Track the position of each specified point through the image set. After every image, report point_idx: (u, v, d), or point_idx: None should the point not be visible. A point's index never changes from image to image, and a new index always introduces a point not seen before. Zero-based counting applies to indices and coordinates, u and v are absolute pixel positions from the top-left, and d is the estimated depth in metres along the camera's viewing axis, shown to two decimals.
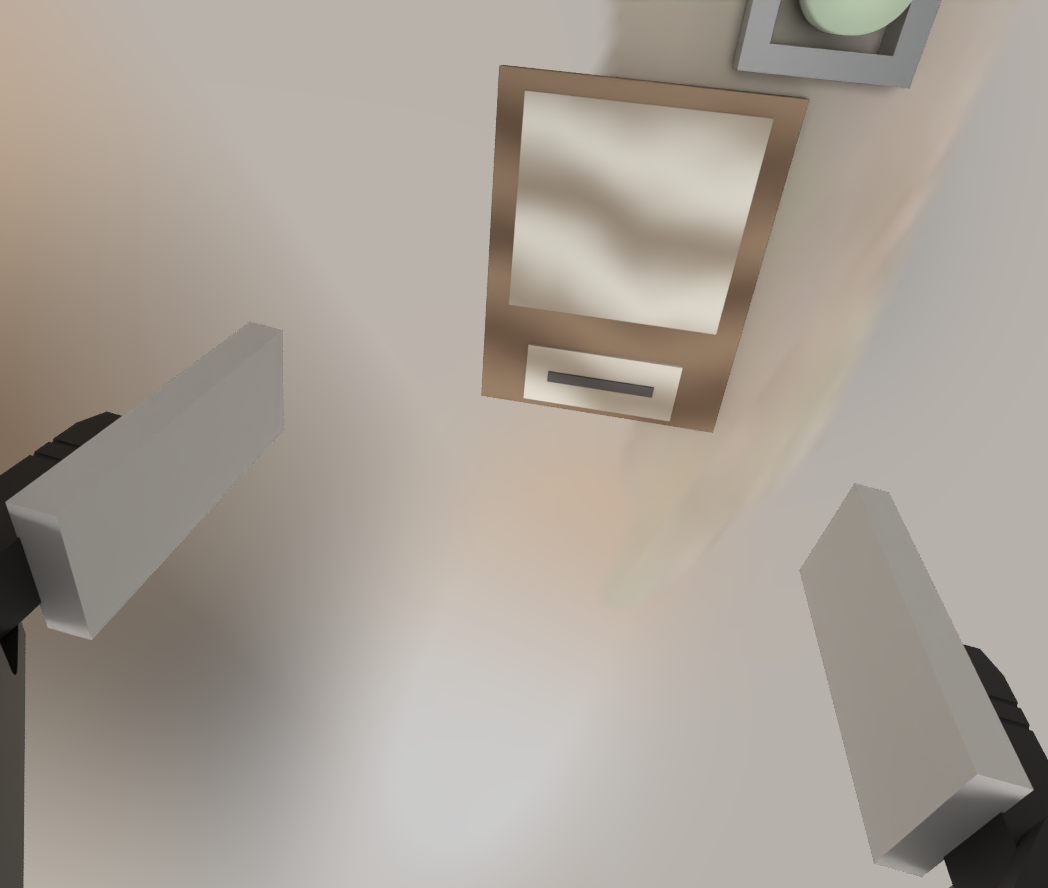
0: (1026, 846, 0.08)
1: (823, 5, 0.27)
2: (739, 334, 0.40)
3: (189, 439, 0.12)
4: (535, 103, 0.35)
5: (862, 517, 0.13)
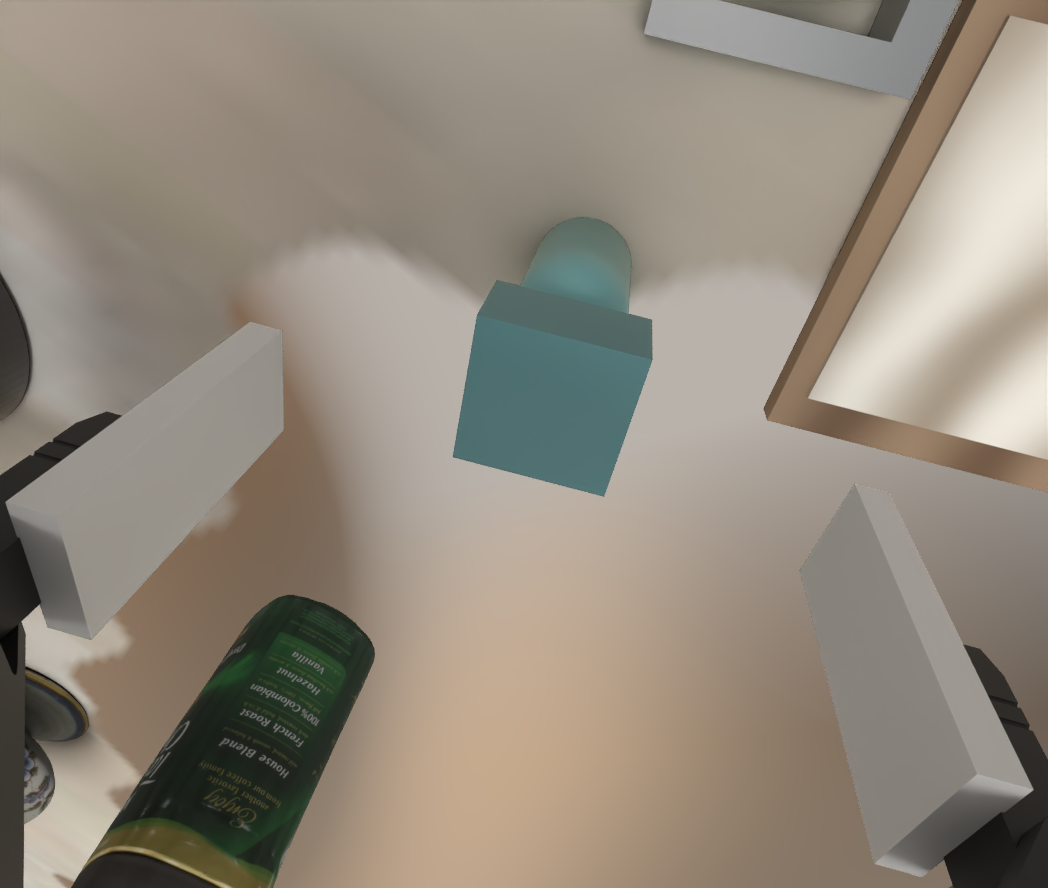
0: (1026, 846, 0.08)
1: None
2: None
3: (189, 439, 0.12)
4: (828, 388, 0.26)
5: (862, 517, 0.13)
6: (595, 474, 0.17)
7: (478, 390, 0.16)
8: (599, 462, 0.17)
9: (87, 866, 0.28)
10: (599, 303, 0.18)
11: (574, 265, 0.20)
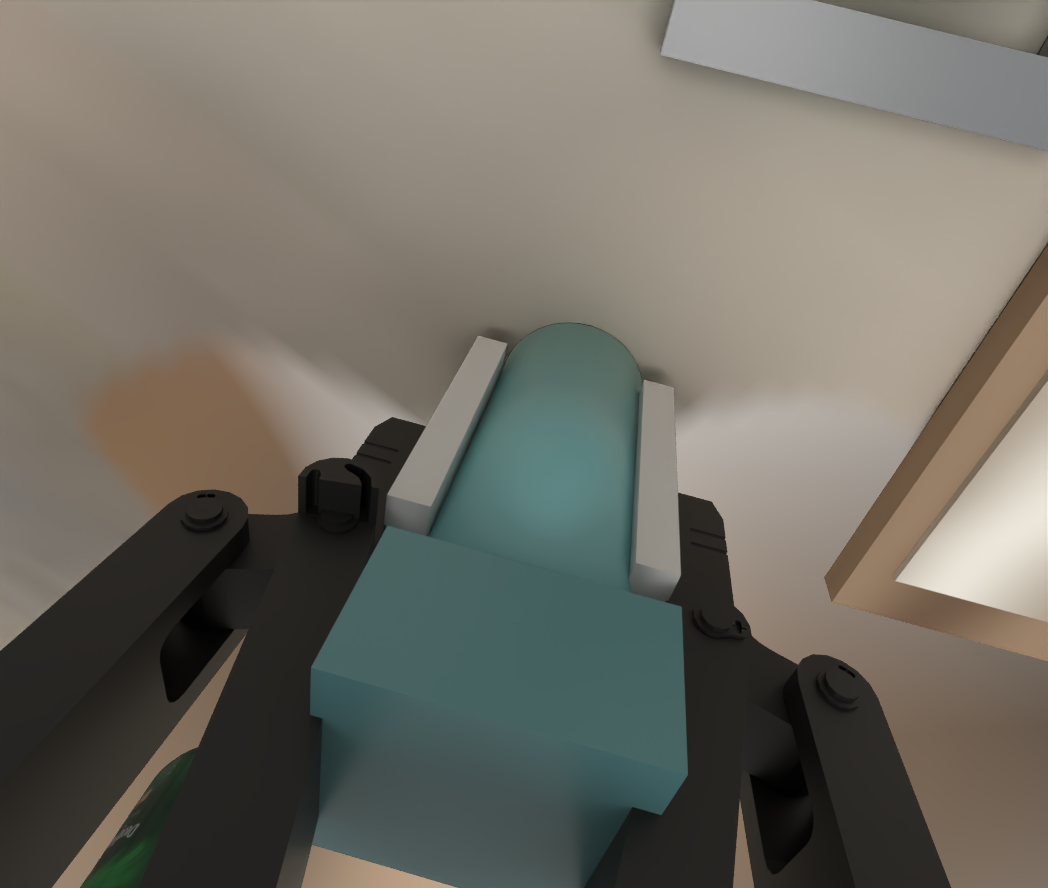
0: None
1: None
2: None
3: (468, 441, 0.13)
4: (927, 570, 0.17)
5: (641, 404, 0.15)
6: None
7: (335, 770, 0.08)
8: (578, 887, 0.09)
9: None
10: (584, 545, 0.10)
11: (545, 444, 0.12)
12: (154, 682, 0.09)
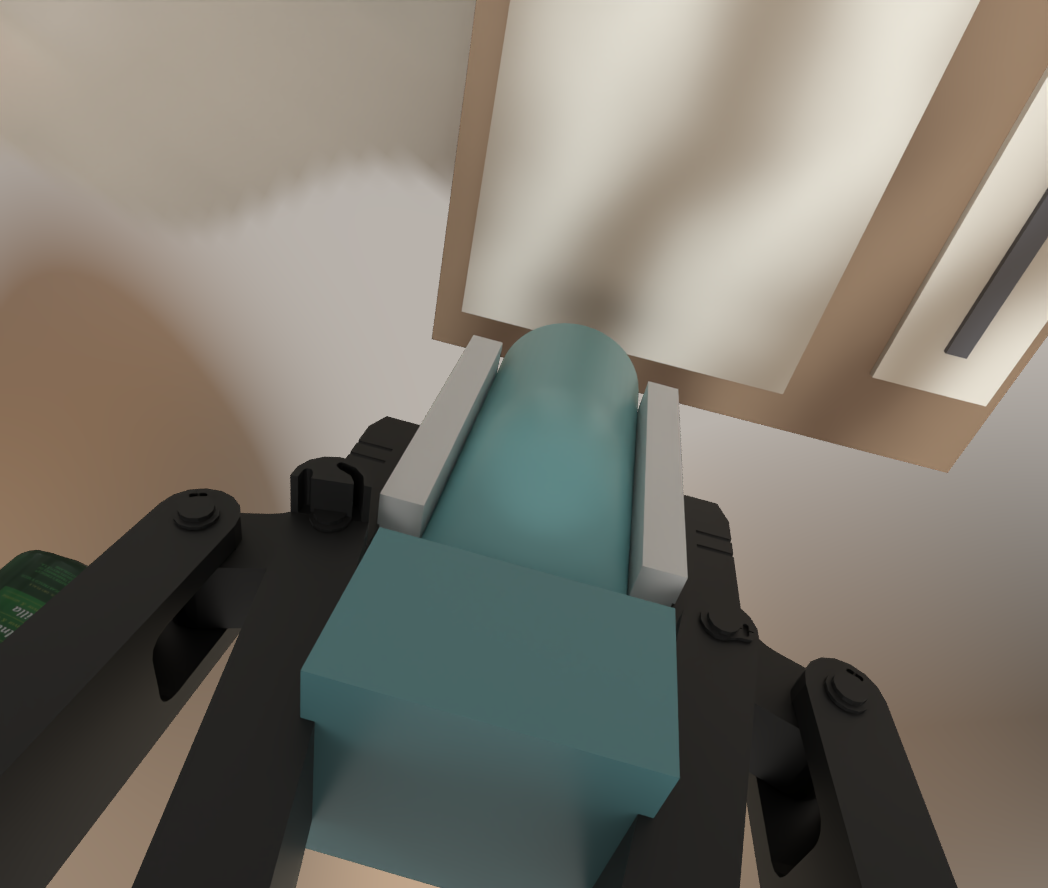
0: None
1: None
2: None
3: (463, 440, 0.13)
4: (478, 299, 0.23)
5: (645, 406, 0.15)
6: None
7: (327, 773, 0.08)
8: None
9: None
10: (578, 546, 0.10)
11: (540, 445, 0.12)
12: (148, 681, 0.09)
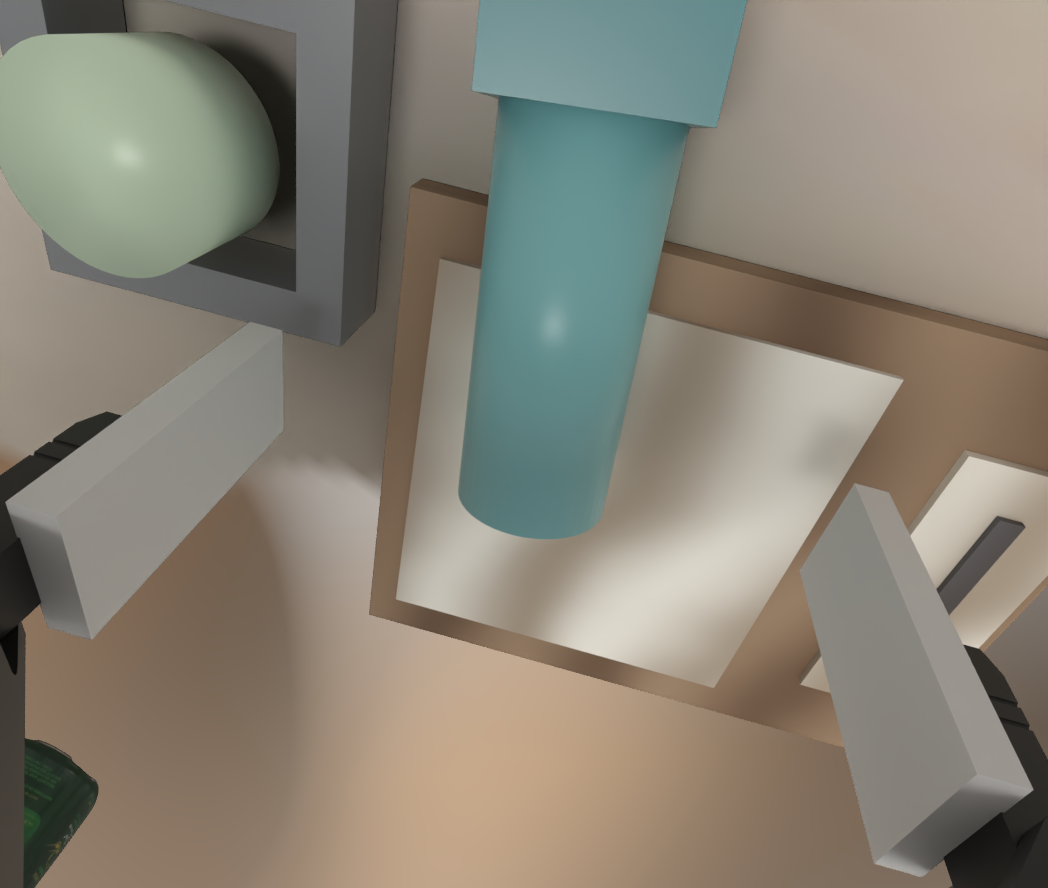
0: (1026, 846, 0.08)
1: (165, 252, 0.13)
2: (925, 324, 0.15)
3: (189, 439, 0.12)
4: (411, 591, 0.23)
5: (861, 517, 0.13)
6: None
7: None
8: None
9: None
10: None
11: None
12: None
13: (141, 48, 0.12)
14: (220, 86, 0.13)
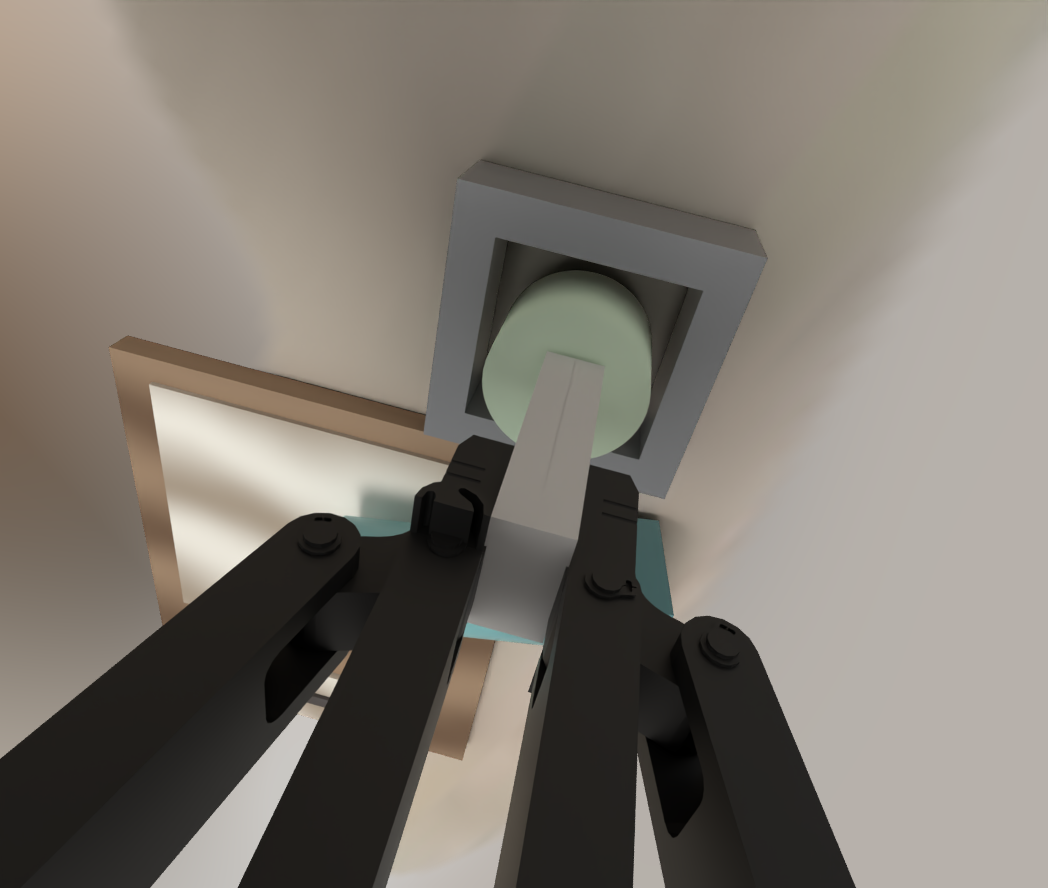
0: (562, 602, 0.10)
1: (504, 416, 0.18)
2: (482, 679, 0.30)
3: None
4: (167, 401, 0.24)
5: (569, 382, 0.15)
6: None
7: None
8: None
9: None
10: None
11: None
12: (257, 704, 0.09)
13: None
14: None
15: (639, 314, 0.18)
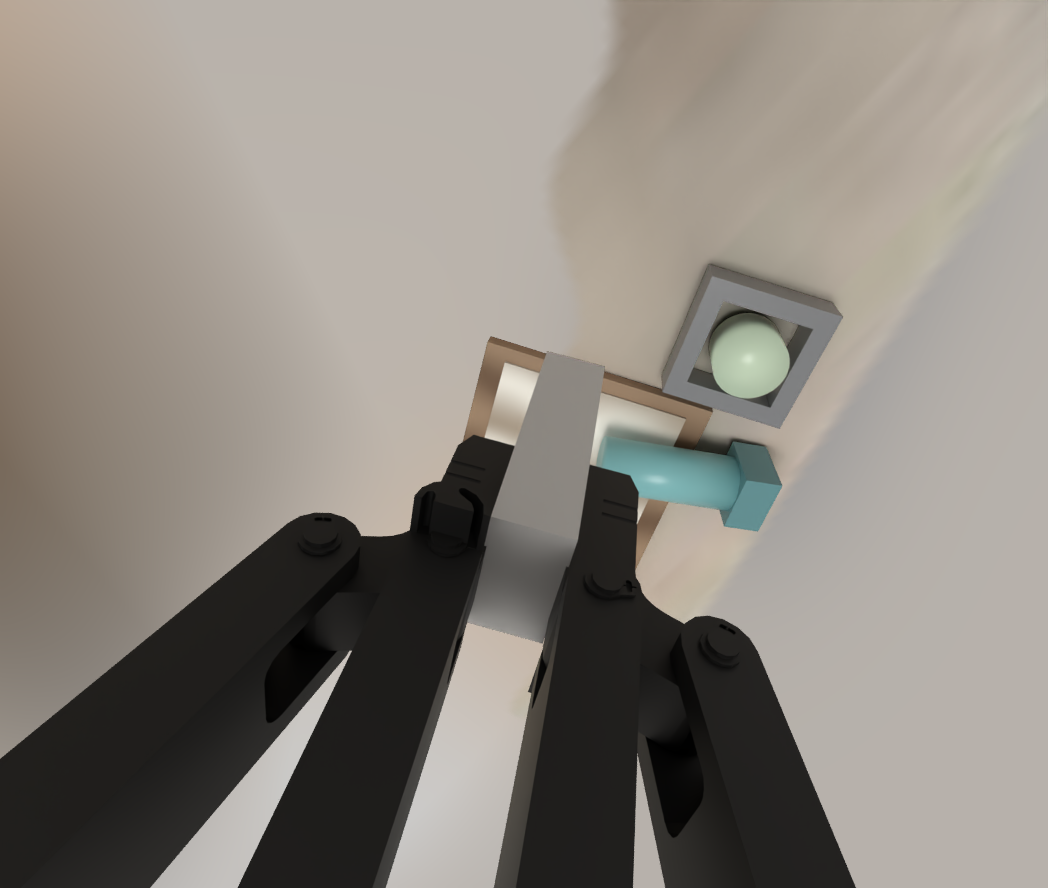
0: (562, 602, 0.10)
1: (719, 376, 0.40)
2: (644, 547, 0.51)
3: None
4: (511, 372, 0.45)
5: (570, 382, 0.15)
6: None
7: None
8: None
9: None
10: None
11: None
12: (257, 703, 0.09)
13: None
14: None
15: None
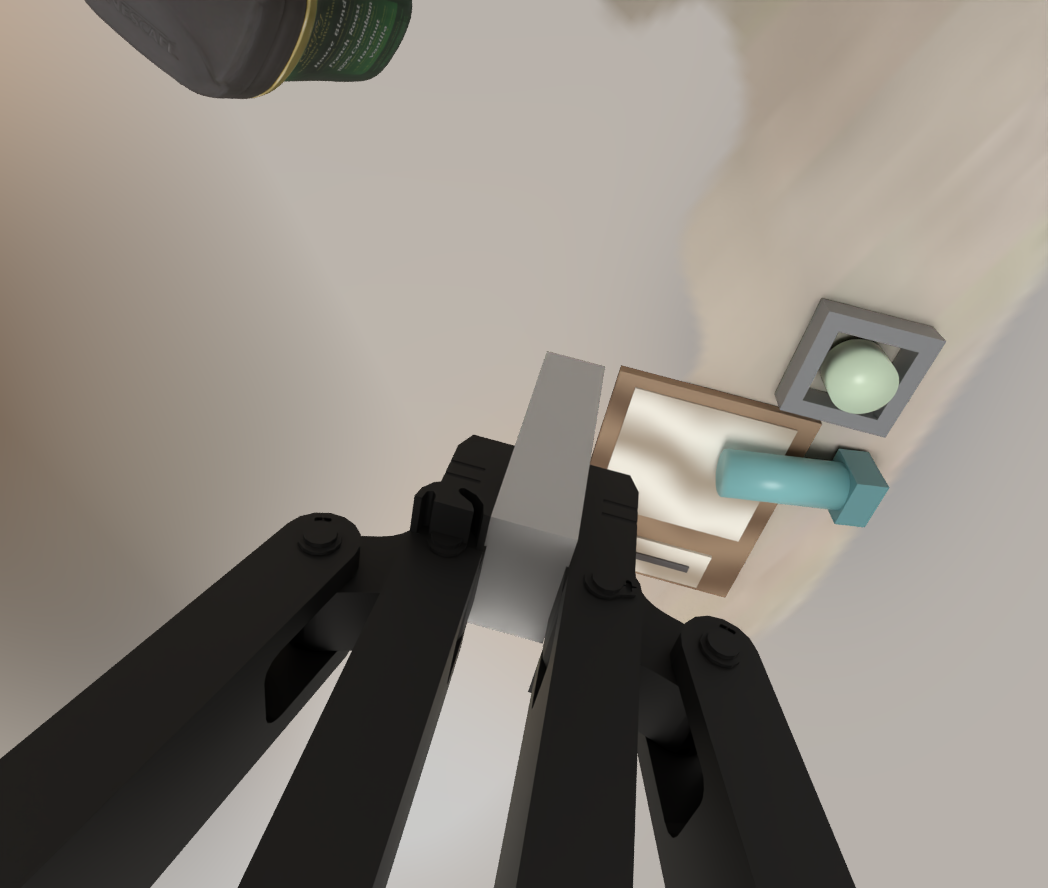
0: (562, 602, 0.10)
1: (835, 396, 0.46)
2: (754, 543, 0.57)
3: None
4: (641, 395, 0.51)
5: (569, 382, 0.15)
6: None
7: None
8: None
9: None
10: None
11: None
12: (258, 703, 0.09)
13: None
14: None
15: None
